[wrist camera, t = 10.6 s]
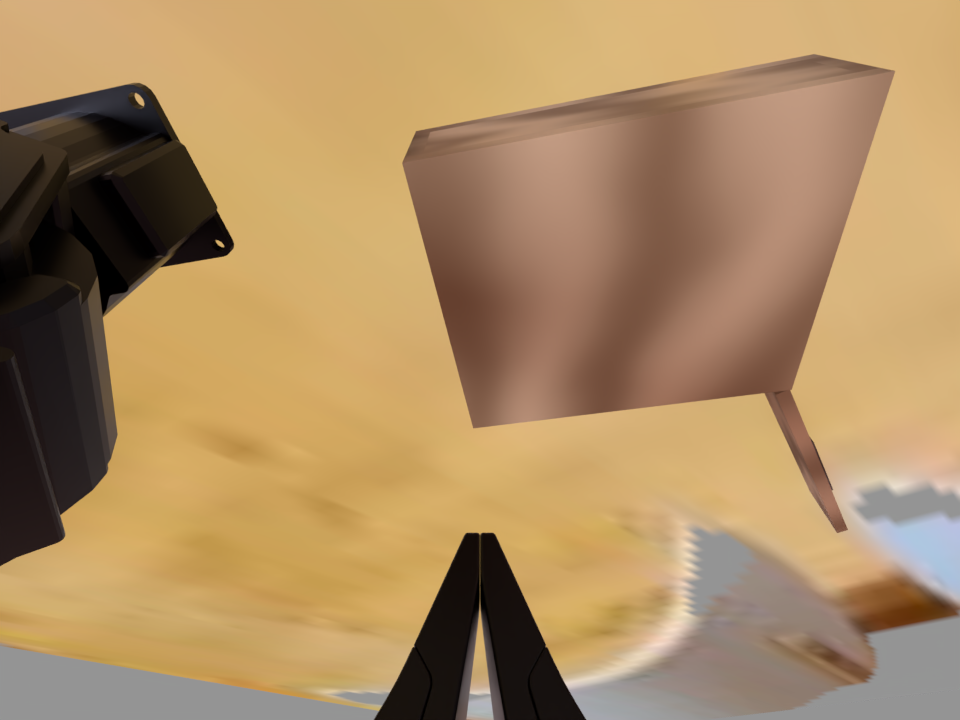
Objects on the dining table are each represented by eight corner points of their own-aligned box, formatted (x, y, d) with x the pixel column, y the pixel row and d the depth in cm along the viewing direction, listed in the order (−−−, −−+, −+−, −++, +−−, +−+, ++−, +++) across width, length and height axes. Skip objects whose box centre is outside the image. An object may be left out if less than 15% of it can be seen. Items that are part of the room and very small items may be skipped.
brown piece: (473, 372, 25) (473, 428, 22) (415, 131, 17) (402, 162, 14) (749, 335, 23) (791, 389, 20) (814, 53, 16) (895, 71, 13)
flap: (823, 486, 30) (852, 528, 28) (809, 491, 31) (837, 533, 28) (763, 346, 23) (794, 386, 21) (746, 354, 23) (775, 394, 21)
